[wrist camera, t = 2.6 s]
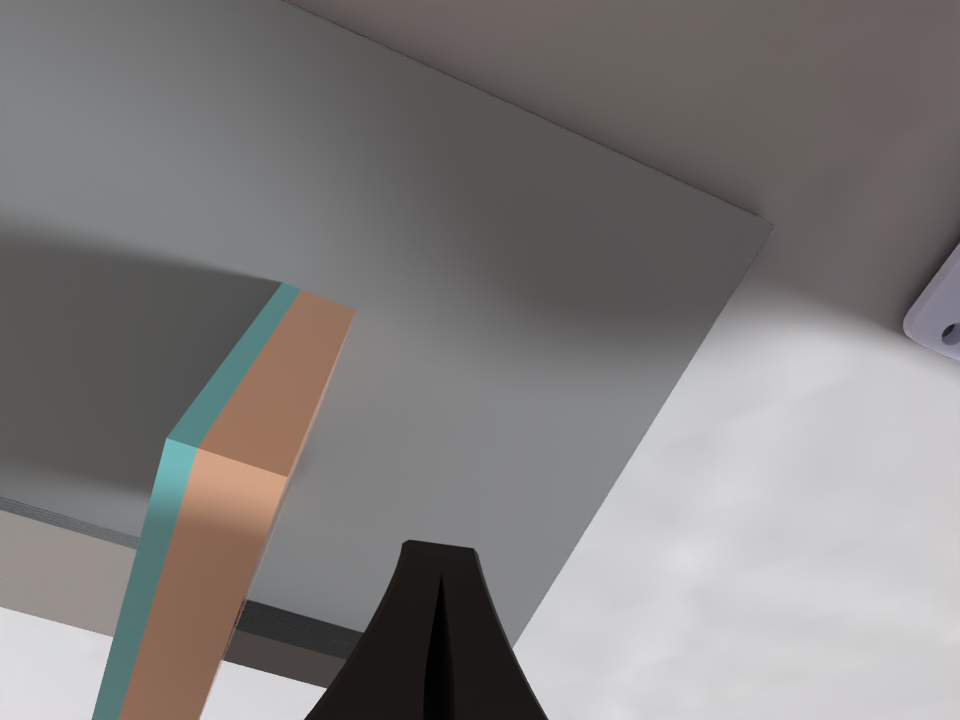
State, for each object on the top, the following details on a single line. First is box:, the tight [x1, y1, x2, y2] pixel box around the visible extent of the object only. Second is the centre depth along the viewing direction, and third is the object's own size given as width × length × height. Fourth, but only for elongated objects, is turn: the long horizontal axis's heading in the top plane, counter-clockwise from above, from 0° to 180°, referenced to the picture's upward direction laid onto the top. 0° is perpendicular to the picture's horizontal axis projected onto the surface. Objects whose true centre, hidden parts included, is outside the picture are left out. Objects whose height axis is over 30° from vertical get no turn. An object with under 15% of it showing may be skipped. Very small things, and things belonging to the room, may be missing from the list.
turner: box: [0, 496, 363, 689], centre depth 17 cm, size 13×3×1 cm, turn 67°
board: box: [0, 0, 774, 648], centre depth 16 cm, size 18×16×1 cm
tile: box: [92, 283, 356, 720], centre depth 13 cm, size 2×6×6 cm, turn 157°
